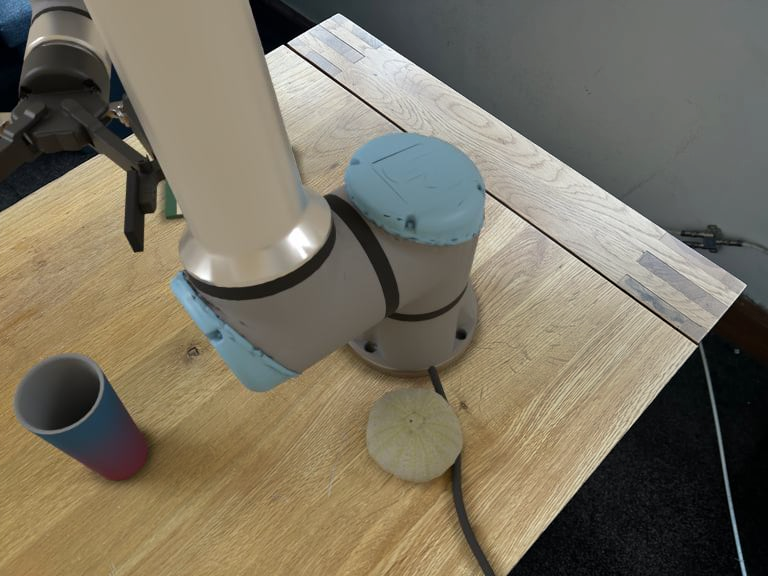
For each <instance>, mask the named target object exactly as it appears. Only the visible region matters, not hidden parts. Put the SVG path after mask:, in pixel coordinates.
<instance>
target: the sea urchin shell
mask: <svg viewBox="0 0 768 576" xmlns="http://www.w3.org/2000/svg"><path fill="white" fill-rule="evenodd" d="M448 403H449V401H448V402H447V401H446V400H445V399H444V398H443V397H442V395H439V394H438V393H436V392H435V390H431V389H427V388H423V387H400V388H398V389H394V390H390V391H386V392H385V393H384V394H383V395H381V397H379V398H378V399H377V401H376V402H375V404H374V405H373V407H372V409H371V410H370V412H369V417H368V421H367V425H366V429H365V440H366V448H367V451H368V453H369V455H370V457H371V459H372V460H374V462H375V463H377V465H378V466H379V467H380V468H381V469H382V470H383V471H384V472H387V473H389V474H391V475H393V476H394V477H395V478H396V479H399V480H403V481H407V482H410V483H414V484H425V483H428V482H430V481H431V480H435V479H437V478H439V477H441V476H442V475H444V474H445V472H446V471H447V470H449V469H450V467H452V464H454V463H455V460H456V458H457V456H458V455H459V453H460V452H461V453H462V450H463V444H464V443H463V442H464V437H463V432H462V427H461V423H460V420H459V419H458V417H457V415H456V412H455V410H454V407H453V406H452V405H450V403H449V404H448Z"/></svg>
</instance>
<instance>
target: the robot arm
mask: <svg viewBox="0 0 768 576" xmlns="http://www.w3.org/2000/svg"><path fill="white" fill-rule="evenodd" d="M28 2H29V4H30V7H31V12H32V13H31V21H30V28H29V31H28V37H27V40H26V41H27V42H26V47H25V51H24V57H23V64H22V69H21V73H20V79H19V80H20V81H19V85H18V103H17V105H16V106H15V107H14V108H13V109H12V110H11V111H10V112H0V183H1V182H2V181H4V180H5V179H6V178H7V177H9V176H10V175H11V174H12V173H14V172H15V171H16V170H17V169H18V168H20V166H22V165H24V163H32V162H34V161H35V160H36V159H38V158H39V157H40V156H41V155H42V154H43V153H45V155H46V154H47V155H48V154H55V153H59V152H63V151H70V152H75V151H82V150H83V149H82V148H84V147H86V146H89V147H90V148H92V149H93V150H94V151H95V152H97V153H98V154H100V155H104V156H105V157H106V158H107V159H109V160H110V161H112V162H113V163H114V164H116V165H117V166H118V167H119V168H121V170H123V171H124V172H126V181H125V197H124V199H125V200H124V219H123V234H124V236H125V238H126V240H127V242H128V244H129V246H130V248H131V249H132V251H133V253H134V254H135V253H136V254H137V253H144V251H145V225H146V224H145V223H146V215H151V214H155V213H156V210H157V208H158V186H159V184H160V183H161V182H162V181H164V180H165V181H166V179H167V181H168V184H169V186H170V188H171V190H172V192H173V194H174V196H175V199H176V201H177V203H178V205H179V207H180V209H181V211H182V214H183V216H184V217H183V218H184V220H185V222H186V225H185V227H184V229H183V231H182V232H181V235H180V238H179V241H178V246H177V247H178V249H177V250H178V255H179V260H180V263H181V264H182V267H183V269H182V270H179V271H178V272H177V274H176V275H175V276H174V277H173V278H172V279H171V280H170V281H169V288H170V290H171V292H172V294H173V295H174V296H175V297H176V300H178V302H179V303H180V305H181V306H182V307H183V308H184V310H185V311H186V313H187V314H188V315H189V316H190V318H191V319H192V321H193V323H194V324H195V325H196V326H197V327H198V329H199V330H200V331H201V332H202V333H203V335H204V336H205V337H206V339H207V340H208V342H209V343H210V344H211V346H212V347H213V348H214V349H215V351H216V352H217V353H218V355H219V357H220V358H221V359H222V360H223V362H224V363H225V365H227V367H228V368H229V369H230V371H231V372H232V374H234V376H235V377H236V378H237V380H238V381H240V384H242V386H244V387H245V388H246V389H247V390H249V391H251V392H254V393H266V392H269V391H271V390H273V389H275V388H277V387H279V386H280V385H282V384H284V383H286V382H287V381H290V380H291V379H293V378H299V376H301V375H302V374H303V372H305V371H307V370H308V369H311V367H313V366H314V365H316V364H318V363H319V362H321V361H322V360H324V359H325V358H327V357H328V356H330V355H332V354H333V353H334V352H336V351H337V350H339V349H341V348H342V347H346V348H347V350H349V352H350V353H351V354H352V355H353V356H354V357H355V358H356V359H357V360H358V361H359V362H360V363H362V364H363V365H365V366H366V367H368V368H370V369H371V370H374V371H376V372H378V373H380V374H384V375H387V376H391V377H397V378H419V377H426V376H429V378H430V382H431V384H432V387H433V389H434V392H436V393H438V394H439V395H442V397H443V398H444V399H445V400H446V401H447V402H448V404H449V405H450V403H449V400H448V397H447V395H446V391H445V390H444V387H443V384H442V382H441V379H440V376H439V372H441V371H443V370H444V369H446V368H448V367H450V366H452V365H453V364H454V363H455V362H456V361H458V360H459V359H460V358H461V357H462V355H463V354H464V353H466V350H467V349H468V348H469V347H470V345H471V342H472V341H473V339H474V335H475V331H476V329H477V324H478V320H479V303H478V298H477V294H476V291H475V289H474V288H475V287H474V286H473V283H472V280H471V277H470V276H471V272H472V267H473V263H474V259H475V256H476V255H475V254H476V251H477V247H478V243H479V237H480V234H481V230H482V229H483V228H484V224H485V223H484V222H485V218H486V216H485V215H486V214H485V213H486V211H485V205H486V195H487V192H486V186H485V185H486V184H485V181H484V178H483V176H482V173H481V172H480V170H479V168H478V167H477V165H476V163H475V162H474V161H473V160H472V159H471V158H470V157H469V156H468V155H467V154H466V153H465V152H464V151H462V150H461V149H460V148H459V147H457V146H455V145H453V144H452V143H450V142H448V141H446V140H444V139H441V138H439V137H435V136H427V135H423V134H420V133H418V132H393V133H388V134H387V133H386V134H383V135H380V136H376V137H374V138H372V139H370V140H368V141H365V142H364V143H363V144H362V145H360V146H359V148H357V149H356V150H355V151H354V153H353V154H352V156H351V157H350V160H349V164H348V165H347V168H346V169H345V171H344V175H343V182H344V184H343V185H342V186H340V187H338V188H336V189H334V190H332V191H331V192H328V193H327V194H324V195H322V194H321V193H320V192H319V191H317V190H315V189H314V188H312V187H309V186H307V185H305V184H303V181H302V178H301V175H300V171H299V168H298V165H297V162H296V157H295V153H294V150H293V151H292V147H293V146H292V144H291V141H290V136H289V133H288V130H287V127H286V124H285V121H284V117H283V114H282V110H281V107H280V104H279V103H280V102H279V100H278V97H277V93H276V89H275V87H274V82H273V80H272V75H271V73H270V69H269V65H268V61H267V58H266V55H265V52H264V48H263V45H262V41H261V38H260V35H259V30H258V28H257V24H256V21H255V18H254V15H253V11H252V7H251V5H250V0H28ZM112 65H113V67H114V69H115V71H116V74H117V76H118V78H119V80H120V83H121V84H122V87H123V89H124V91H125V92H124V93H123V94H122V96H121V100H118V101H113V102H110V91H111V75H112ZM114 118H115V119H118V120H119V122H120V123H121V124H124V125H125V127H126V128H131V130H132V133H133V135H134V136H135V137H136V139H137V140H138V142H139V143H140V144H141V145H142V147H143V148H144V150H145V152H146V154H145V155H143V154H141V152H139V151H137V150H136V149H135V148H134V147H132V146H131V145H129V143H127V142H126V141H124V140H123V139H122V138H120V137H119V136H118V135H117V134H115V133H114V132H113V131H112V130H110V129H109V128H108V126H109V125H110V124H111V122H112V120H113V119H114ZM23 137H24V138H25V139H26V140H27V141H28V142H29V143H30V144H29V145H27V144H26V142H25V141H24V139H23ZM150 158H151V159H150ZM451 488H452V498H453V504H454V508H455V513H456V515H457V519H458V522H459V524H460V527H461V530H462V533H463V536H464V537H465V540H466V542H467V544H468V546H469V548H470V550H471V552H472V554H473V556H474V559H475V560H476V561H477V563H478V565H479V567H480V569H481V571H482V573H483V575H484V576H497V575H496V573H495V570H494V569H493V567H492V566H491V563H490V561H489V560H488V558H487V557H486V554H485V552H484V550H483V548H482V547H481V545H480V543H479V540H478V539H477V537H476V534H475V533H474V529H473V528H472V525H471V522H470V519H469V517H468V514H467V510H466V507H465V501H464V496H463V490H462V451H461V452H460V453H459V455H458V456H457V458H456V460H455V463H454V464H452V466H451Z"/></svg>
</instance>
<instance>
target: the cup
mask: <svg viewBox="0 0 768 576" xmlns="http://www.w3.org/2000/svg"><path fill="white" fill-rule="evenodd" d="M14 391H15V392H14V394H13V400H12V401H13V402H12V407H13V413H14V415H15V418H16V420H17V421H18V422H19V424H20V425H21V426H22V427H23V428H25V429H26V430H27V431H29V432H31V433H32V434H34V435H35V436H37V437H38V438H39V439H41V440H43V441H45V442H46V443H48V444H50V445H51V446H53V447H54V448H56V449H57V450H59V451H61V452H62V453H64V454H66V455H67V456H69V457H70V458H72V459H74V460H75V461H77V462H79V463H80V464H81V465H83V466H85V467H86V468H88V469H90V470H92V471H93V472H94V473H96V474H98V475H99V476H101V477H102V478H104V479H107V480H109V481H123V480H127V479H129V478H131V477H133V476H134V475H136V473H138V472H139V471H140V470H141V469H142V468H143V466H144V464H146V461H147V458H148V454H149V445H148V443H147V440H146V437H145V436H144V435H143V433H142V432H141V430H140V428H139V427H138V426H137V423H136V422H135V421H134V419H133V417H132V416H131V413H130V412H129V411H128V409H127V407H126V406H125V405H124V403H123V401H122V400H121V398H120V397H119V395H118V394H117V392H116V390H115V389H114V387H113V386H112V383H111V382H110V381H109V379H108V377H107V376H106V374H105V373H104V371H103V370H102V368H101V367H100V366H99V364H98V363H97V362H96V361H95V360H94V359H92V358H91V357H89V356H87V355H84V354H81V353H76V352H63V353H58V354H55V355H51V356H48V357H46V358H44V359H42V360H40V361H38V363H36V364H35V365H33V366H32V367H30V369H29V370H27V372H25V374H24V375H23V376H22V378H21V379H20V380H19V382H18V384H17V386H16V388H15V390H14Z"/></svg>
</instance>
